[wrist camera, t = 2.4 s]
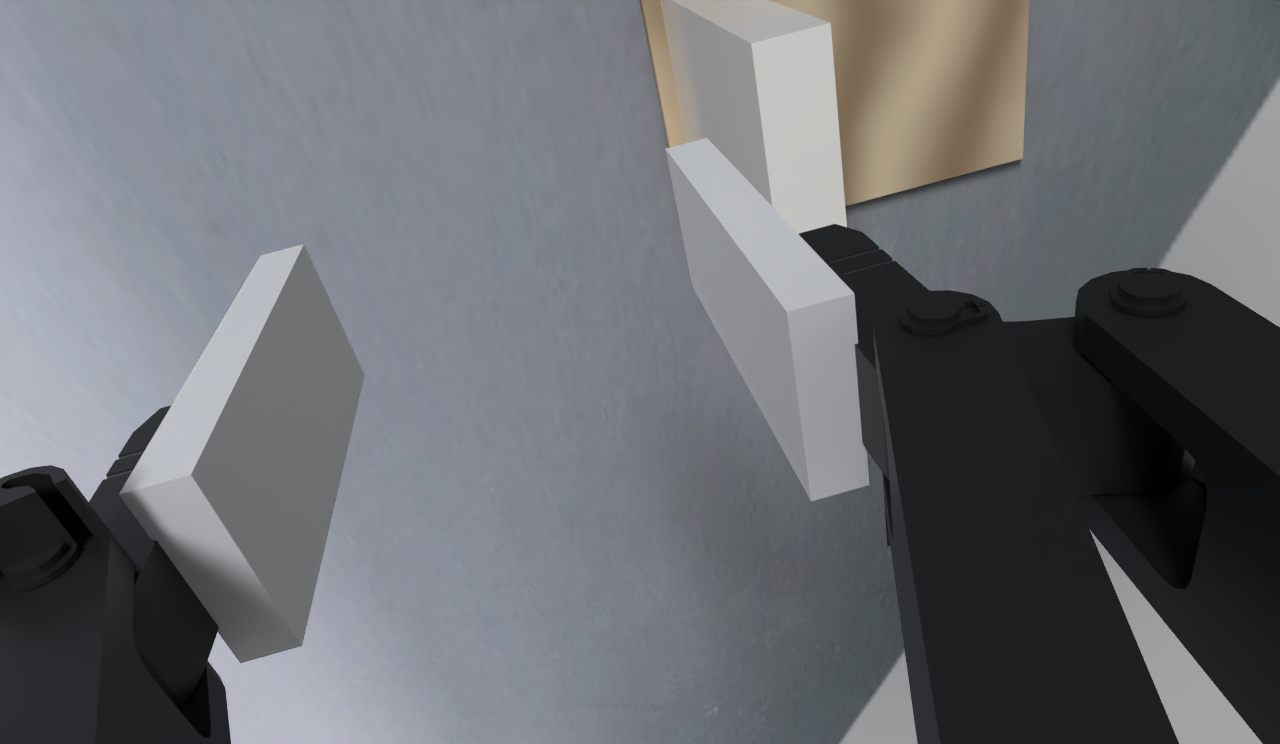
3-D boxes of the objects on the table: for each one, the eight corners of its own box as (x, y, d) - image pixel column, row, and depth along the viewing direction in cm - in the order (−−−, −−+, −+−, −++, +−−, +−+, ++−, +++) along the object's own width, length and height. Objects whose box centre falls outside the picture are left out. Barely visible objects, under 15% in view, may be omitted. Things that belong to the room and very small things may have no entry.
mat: (686, 244, 42) (689, 248, 42) (628, -55, 35) (631, -54, 34) (1016, 155, 43) (1022, 158, 42) (1027, -155, 36) (1036, -156, 35)
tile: (697, 207, 41) (789, 337, 29) (658, -7, 36) (750, 43, 24) (746, 194, 41) (858, 318, 29) (715, -22, 36) (835, 21, 24)
